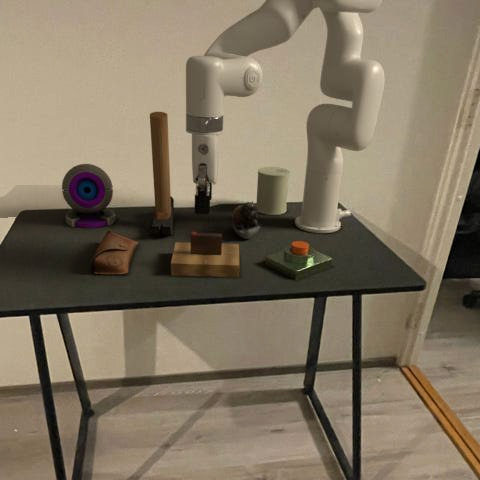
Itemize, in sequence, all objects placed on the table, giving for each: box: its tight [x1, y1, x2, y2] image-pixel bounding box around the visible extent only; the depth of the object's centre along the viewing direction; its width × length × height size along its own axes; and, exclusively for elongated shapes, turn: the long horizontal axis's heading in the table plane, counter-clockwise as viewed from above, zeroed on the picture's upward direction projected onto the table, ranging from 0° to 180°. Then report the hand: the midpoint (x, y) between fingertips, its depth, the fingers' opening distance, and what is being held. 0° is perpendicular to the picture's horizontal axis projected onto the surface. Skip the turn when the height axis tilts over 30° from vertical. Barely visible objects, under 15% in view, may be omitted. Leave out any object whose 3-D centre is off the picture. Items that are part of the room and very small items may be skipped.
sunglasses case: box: [89, 229, 140, 276], centre depth 124 cm, size 18×7×7 cm
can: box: [255, 166, 290, 216], centre depth 156 cm, size 9×9×12 cm
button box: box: [264, 244, 333, 280], centre depth 124 cm, size 12×10×4 cm
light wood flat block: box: [170, 241, 240, 278], centre depth 123 cm, size 15×12×3 cm
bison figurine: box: [232, 201, 261, 240], centre depth 138 cm, size 12×7×10 cm, turn 12°
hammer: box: [149, 111, 175, 236], centre depth 134 cm, size 20×5×30 cm, turn 3°
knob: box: [189, 231, 223, 255], centre depth 121 cm, size 7×2×5 cm, turn 91°
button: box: [291, 240, 310, 254], centre depth 123 cm, size 4×4×2 cm
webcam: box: [61, 163, 116, 229], centre depth 142 cm, size 13×13×15 cm
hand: (203, 206), depth 117 cm, fingers open, 9 cm apart
